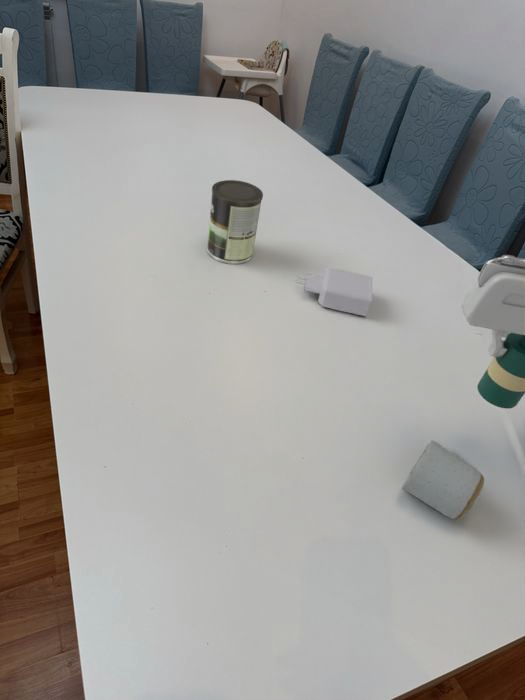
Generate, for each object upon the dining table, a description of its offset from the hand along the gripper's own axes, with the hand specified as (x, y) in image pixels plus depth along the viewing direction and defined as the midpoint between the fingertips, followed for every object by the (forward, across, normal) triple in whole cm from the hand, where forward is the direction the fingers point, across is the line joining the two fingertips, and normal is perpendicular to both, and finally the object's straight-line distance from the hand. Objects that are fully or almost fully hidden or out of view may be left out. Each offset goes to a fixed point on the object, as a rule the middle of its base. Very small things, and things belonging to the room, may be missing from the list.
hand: (520, 358), depth 65 cm
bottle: (+7, 0, 0) cm, 7 cm away
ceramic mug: (+17, -7, -10) cm, 21 cm away
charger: (+17, -21, +33) cm, 43 cm away
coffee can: (+17, -43, +44) cm, 64 cm away
